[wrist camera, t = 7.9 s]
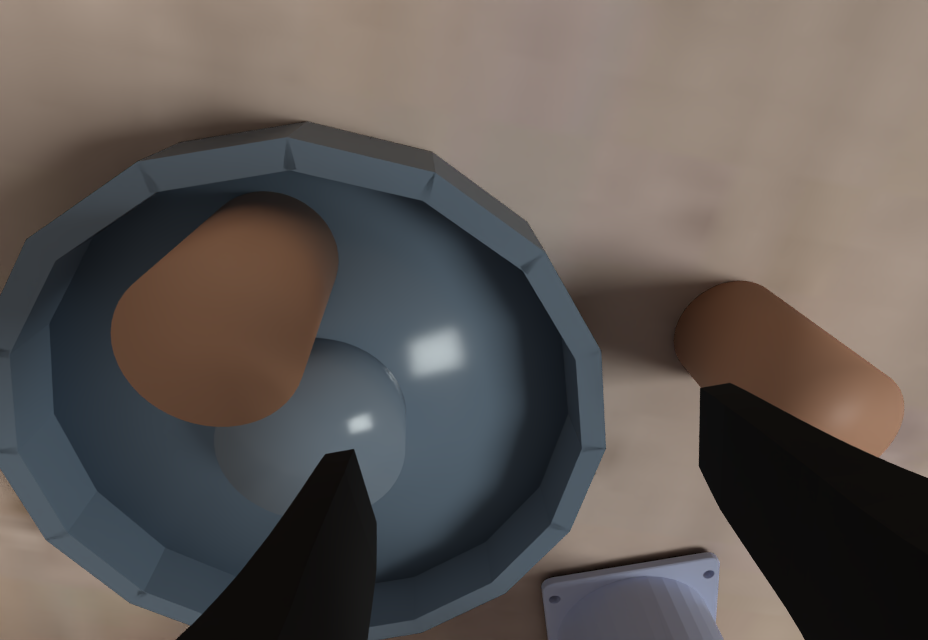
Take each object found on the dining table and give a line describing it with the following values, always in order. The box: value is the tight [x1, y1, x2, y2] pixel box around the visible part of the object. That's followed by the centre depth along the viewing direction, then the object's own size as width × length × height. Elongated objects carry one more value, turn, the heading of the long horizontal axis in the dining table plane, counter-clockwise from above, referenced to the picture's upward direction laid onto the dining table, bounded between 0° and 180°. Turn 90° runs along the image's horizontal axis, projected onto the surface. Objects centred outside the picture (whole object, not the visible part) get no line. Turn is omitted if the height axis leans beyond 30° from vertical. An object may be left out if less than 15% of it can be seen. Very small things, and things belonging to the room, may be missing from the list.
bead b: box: [674, 281, 904, 457], centre depth 19 cm, size 4×4×6 cm
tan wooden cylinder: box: [111, 191, 339, 427], centre depth 15 cm, size 4×4×6 cm
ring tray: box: [0, 121, 606, 640], centre depth 20 cm, size 19×19×3 cm
